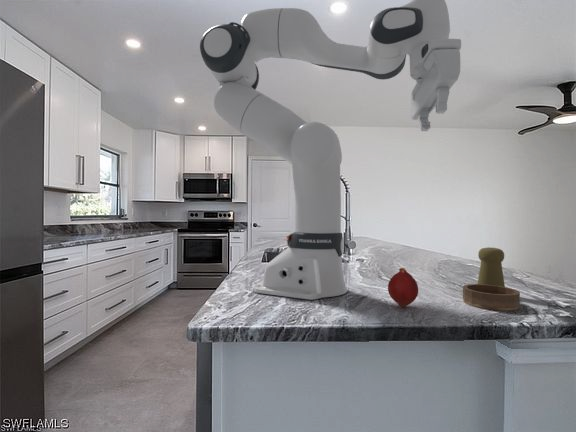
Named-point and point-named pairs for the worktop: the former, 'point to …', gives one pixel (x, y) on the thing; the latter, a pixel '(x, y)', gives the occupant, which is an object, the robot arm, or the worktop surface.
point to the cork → (491, 267)
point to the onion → (403, 288)
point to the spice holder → (491, 297)
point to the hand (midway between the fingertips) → (433, 121)
